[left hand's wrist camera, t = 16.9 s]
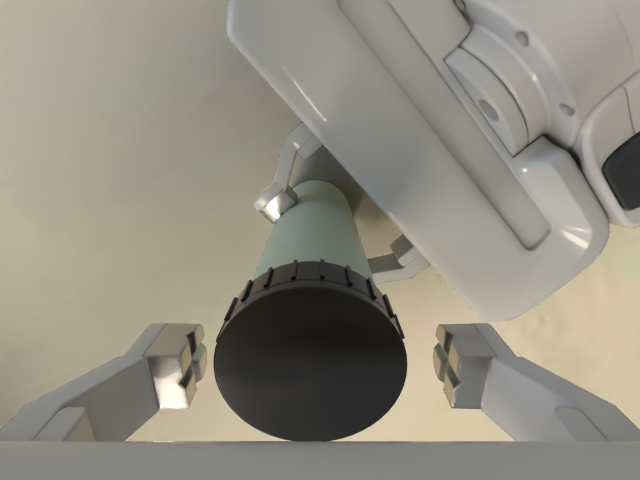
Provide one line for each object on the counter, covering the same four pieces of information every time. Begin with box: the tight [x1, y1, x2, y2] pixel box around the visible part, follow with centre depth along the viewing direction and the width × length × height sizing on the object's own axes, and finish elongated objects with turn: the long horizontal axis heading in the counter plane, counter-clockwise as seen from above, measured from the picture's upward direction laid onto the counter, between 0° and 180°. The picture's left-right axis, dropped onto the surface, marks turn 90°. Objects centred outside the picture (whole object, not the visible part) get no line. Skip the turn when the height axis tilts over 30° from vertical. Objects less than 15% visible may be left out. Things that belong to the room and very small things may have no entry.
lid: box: [214, 259, 407, 441], centre depth 10 cm, size 5×5×2 cm
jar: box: [252, 180, 375, 285], centre depth 16 cm, size 5×5×14 cm
